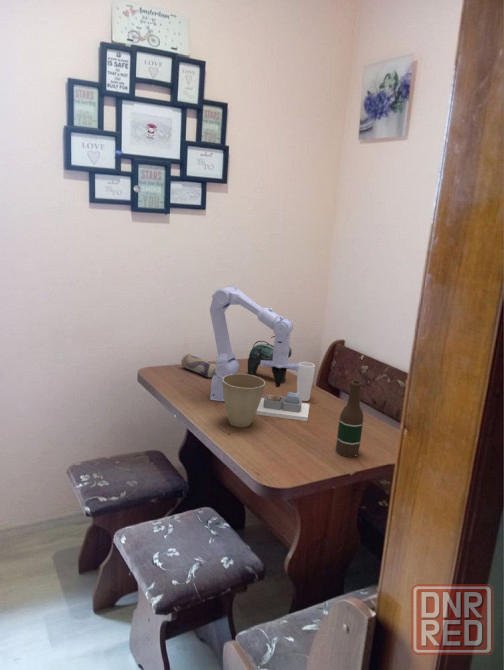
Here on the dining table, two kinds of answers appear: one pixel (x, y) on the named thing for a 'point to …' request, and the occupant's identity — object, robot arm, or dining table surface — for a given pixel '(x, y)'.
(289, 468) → the dining table surface
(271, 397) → the key oak
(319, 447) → the dining table surface
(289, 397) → the key slate
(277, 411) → the key panel
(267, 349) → the ceramic cat
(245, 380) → the plant pot
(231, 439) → the dining table surface
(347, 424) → the beer bottle
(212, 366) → the decorative bottle
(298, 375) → the drinking glass
